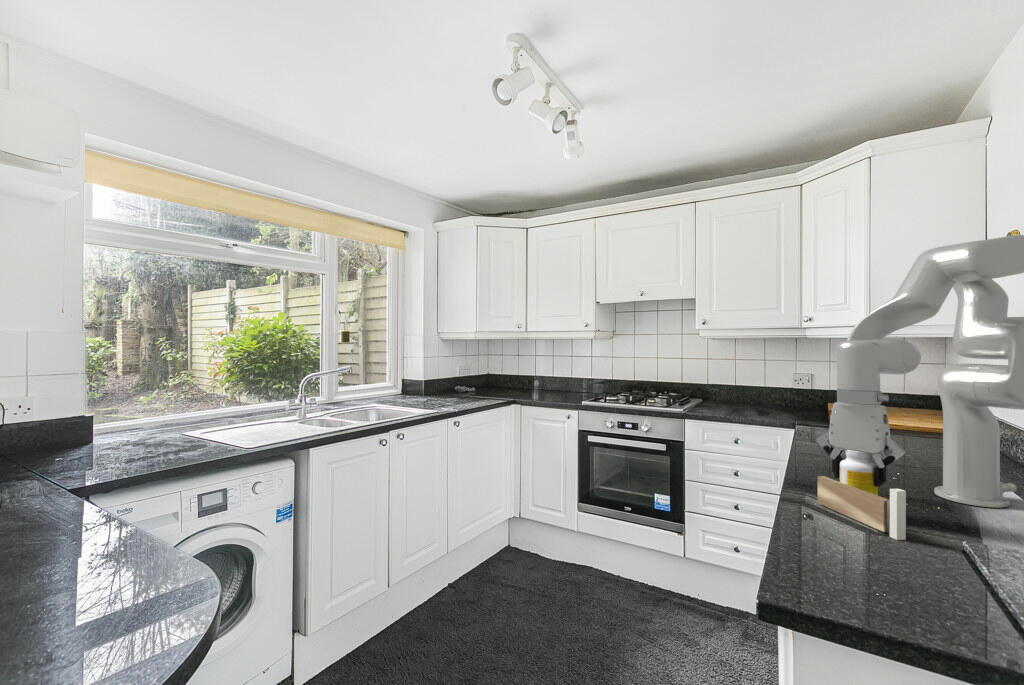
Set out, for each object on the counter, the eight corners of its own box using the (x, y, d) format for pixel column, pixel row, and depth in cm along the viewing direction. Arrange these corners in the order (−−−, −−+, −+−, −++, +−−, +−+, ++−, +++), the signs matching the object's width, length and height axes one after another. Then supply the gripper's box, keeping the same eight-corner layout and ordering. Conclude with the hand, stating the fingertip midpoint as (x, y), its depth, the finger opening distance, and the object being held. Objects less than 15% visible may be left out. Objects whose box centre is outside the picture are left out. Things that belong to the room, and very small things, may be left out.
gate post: (898, 536, 89) (898, 488, 89) (905, 539, 88) (905, 491, 88) (889, 536, 89) (889, 488, 89) (896, 539, 87) (896, 491, 87)
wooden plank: (823, 503, 107) (823, 475, 107) (896, 534, 89) (896, 501, 89) (817, 503, 107) (817, 475, 107) (888, 534, 89) (889, 502, 89)
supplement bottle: (886, 515, 98) (886, 453, 98) (853, 515, 98) (853, 453, 98) (862, 504, 105) (862, 446, 105) (832, 503, 105) (832, 446, 105)
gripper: (915, 400, 97) (915, 488, 97) (821, 393, 111) (821, 469, 111) (902, 403, 92) (902, 495, 92) (806, 395, 107) (806, 474, 107)
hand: (858, 480), depth 102 cm, fingers closed on supplement bottle, 6 cm apart
